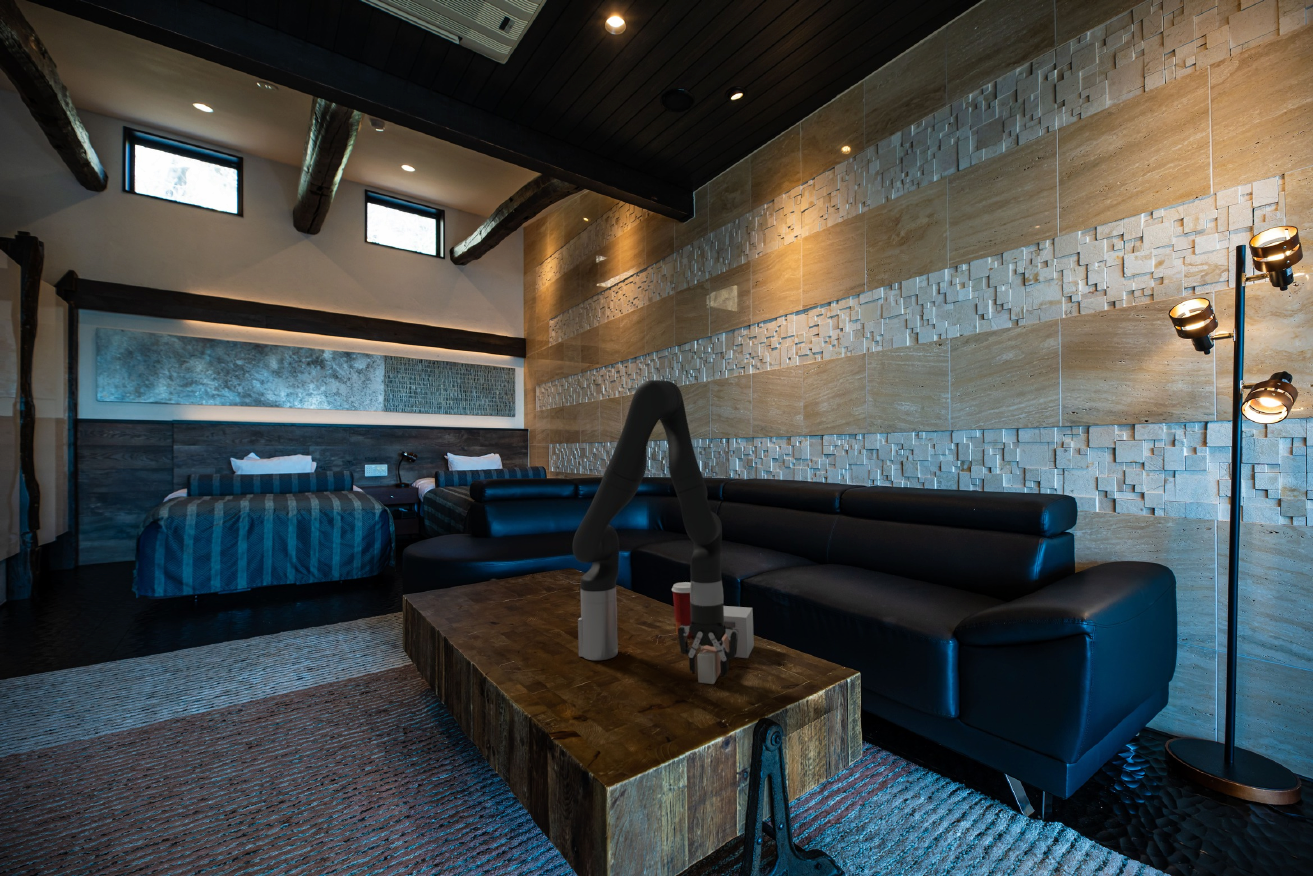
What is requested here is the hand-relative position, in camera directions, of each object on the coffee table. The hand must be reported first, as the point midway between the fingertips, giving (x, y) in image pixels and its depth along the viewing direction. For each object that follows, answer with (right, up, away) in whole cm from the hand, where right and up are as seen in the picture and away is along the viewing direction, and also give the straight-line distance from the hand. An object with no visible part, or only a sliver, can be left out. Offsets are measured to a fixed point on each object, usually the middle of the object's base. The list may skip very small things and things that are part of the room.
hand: (709, 674), depth 123 cm
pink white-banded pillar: (+2, -1, +5) cm, 5 cm away
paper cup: (-3, -3, +31) cm, 32 cm away
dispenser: (+7, -2, +18) cm, 20 cm away
